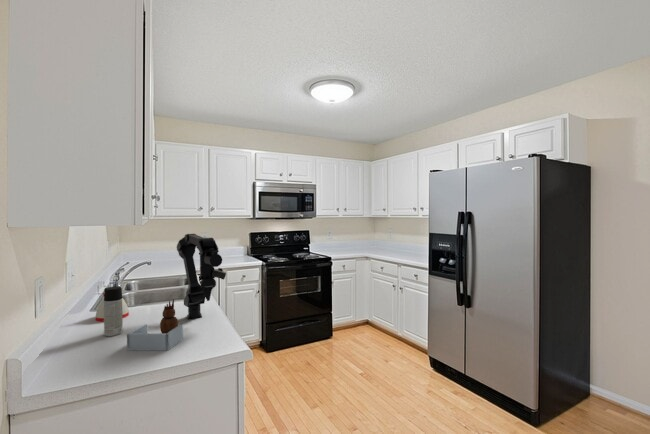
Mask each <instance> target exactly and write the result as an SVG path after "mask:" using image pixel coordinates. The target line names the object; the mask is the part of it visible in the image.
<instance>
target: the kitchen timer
mask: <svg viewBox="0 0 650 434" xmlns="http://www.w3.org/2000/svg"><path fill="white" fill-rule="evenodd" d="M102 295H103V296H104V292H102ZM129 314H130V309H129V307H128V304H127V301H126V300H125V299H124V297H122V319H124V318H127V317H129ZM95 321H97V322H101V323H102V322H103V323H104V298H102V300H101V301H100V302H99V305H98V306H97V308H96V313H95Z"/></svg>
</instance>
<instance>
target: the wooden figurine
mask: <svg viewBox="0 0 650 434" xmlns="http://www.w3.org/2000/svg"><path fill="white" fill-rule="evenodd" d="M175 315H176V309H175V300H174V299H172V302H171V301H170V300H169V301H168V303H166V305H164V307H163V310H162V318H161V319H160V322H159V323H160V324H159V328H160V334H167V333H168V332H170V331H171V330H173V329H174V328H176V327H177V326H178V325H179V319H178V317H177V316H175Z"/></svg>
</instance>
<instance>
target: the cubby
mask: <svg viewBox="0 0 650 434" xmlns="http://www.w3.org/2000/svg"><path fill="white" fill-rule="evenodd" d="M182 340H183V324H178V326H177V327H176V328H174V329H173V330H171V331H170V332H168V333H167V334H162V333H157V332H156V333H153V332H151V333H148V324H145V323H144V324H143V325H141V326H139V327H137V328H135V329H134V330H131V331H130V332H128V333H127V334H126V350H127V351H169V350H171V348H173V347H174V346H175V345H177V344H178V343H180V342H181V341H182Z"/></svg>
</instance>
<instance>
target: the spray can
mask: <svg viewBox="0 0 650 434" xmlns="http://www.w3.org/2000/svg"><path fill="white" fill-rule="evenodd" d="M103 291H104V292H103V293H104V295H103V299H104V322H103V323H104V325H103V328H104V329H103V333H104V334H103V335H104V337H116V336H119V335H122V333H123V331H124V330H123V328H124V327H123V325H124V324H123V319H124V318H122V298H123V288H122V287H121V286H119V285H117V286H108V287H105V288H104V290H103Z"/></svg>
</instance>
